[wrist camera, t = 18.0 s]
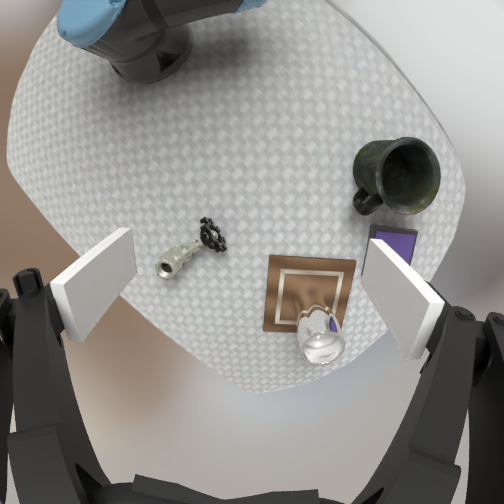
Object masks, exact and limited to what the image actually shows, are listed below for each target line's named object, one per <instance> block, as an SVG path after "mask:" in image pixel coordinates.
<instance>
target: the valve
mask: <svg viewBox="0 0 504 504" xmlns="http://www.w3.org/2000/svg"><path fill="white" fill-rule="evenodd" d="M200 222H201V224H202V223H205V224H204V225H203V226H201V227H200V229H201V231H200V235H201V236H200V239H201V240H199V241H198V240H195V241H193V242H192V243H190V245H189V246H185V245H181V246H179V247H178V248H177V247H176V246H174V247H172V248H171V249H169V250H168V251H166V252H164V253H163V254H162V255H161V257H160V259H159V261H158V262H157V263H156V264H155V266H156V272H157V275H158V276H160V277H161V278H163V279H166V280H168V279H170V278H172V277H173V276H174V275H176V273H177V272H178V271H179V270H180V269H181V267H182V264H183V262H188V261H190V260H191V259H192V254H193V252H194V253H196V252H197V251H199V250H201V248H202V245H205V246H208V247H209V248H210V249H215V251H216V252H217V253H219V252H220V251H221V252H224V251H226V250H227V247H226V245H225V244H224V243H225V242H226V240H225V238H224V237H222V236H221V235H220V233H219V232H220V229H219V227H218V226H216V227H215V226H214V225H213V221H212V219H211V218H209V219H207V218H206V217H204V218H202V219H201V220H200ZM210 228H211V229H212V230H210ZM204 232H206V233H205V234H204ZM217 238H218V241H217V240H216V239H217ZM212 243H213V244H214V246H212V245H211V244H212Z"/></svg>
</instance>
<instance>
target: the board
mask: <svg viewBox="0 0 504 504" xmlns="http://www.w3.org/2000/svg"><path fill="white" fill-rule="evenodd" d="M355 266H356V261H355V260H346V259H330V258H313V257H297V256H281V255H270V258H269V270H268V281H267V293H266V304H265V315H264V326H263V331H274V332H296V323H297V314H298V312H297V309H296V307H295V306H294V302H293V298H294V295H295V293H296V291H297V290H298V289H299V288H301V287H303V286H305V285H316V286H318V287H320V288H321V289H322V290H323V292H324V294H325V303H326V304H327V306H328V307H329V308H330V310H331V311H332V312H333V314H334V315H335V317H336V318H337V320H338V322H339V325H340V328H341V326H342V323H343V319H344V315H345V311H346V307H347V303H348V298H349V294H350V290H351V285H352V280H353V276H354V271H355Z"/></svg>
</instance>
